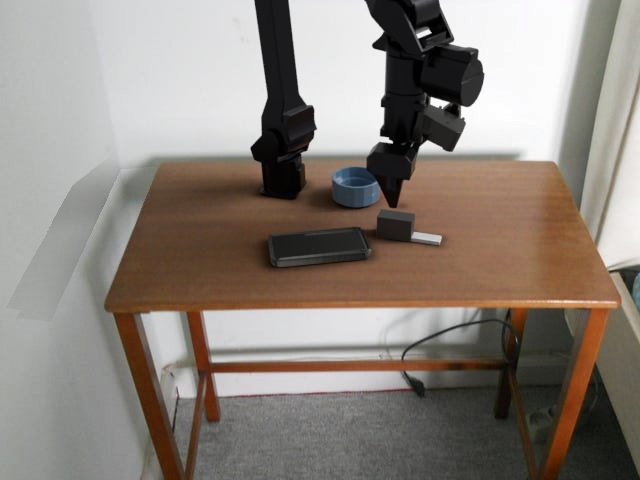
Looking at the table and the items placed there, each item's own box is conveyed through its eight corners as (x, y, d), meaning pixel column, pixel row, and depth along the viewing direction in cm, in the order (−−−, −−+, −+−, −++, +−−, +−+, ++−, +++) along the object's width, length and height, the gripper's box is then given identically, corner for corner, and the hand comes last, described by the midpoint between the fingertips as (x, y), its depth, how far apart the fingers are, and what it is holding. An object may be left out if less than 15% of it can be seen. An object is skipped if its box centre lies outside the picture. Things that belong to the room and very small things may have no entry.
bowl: (326, 205, 113) (325, 184, 110) (340, 184, 119) (339, 163, 116) (372, 212, 112) (373, 190, 109) (384, 190, 118) (385, 169, 115)
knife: (376, 237, 106) (376, 216, 104) (380, 228, 108) (380, 208, 105) (438, 246, 104) (440, 226, 102) (441, 238, 106) (443, 217, 104)
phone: (372, 252, 100) (271, 261, 98) (372, 258, 101) (272, 267, 99) (362, 225, 106) (267, 233, 104) (362, 231, 107) (267, 239, 104)
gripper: (453, 121, 83) (441, 232, 93) (474, 72, 96) (462, 173, 107) (366, 111, 85) (364, 220, 95) (398, 64, 98) (394, 164, 109)
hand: (400, 193), depth 101 cm, fingers open, 9 cm apart
